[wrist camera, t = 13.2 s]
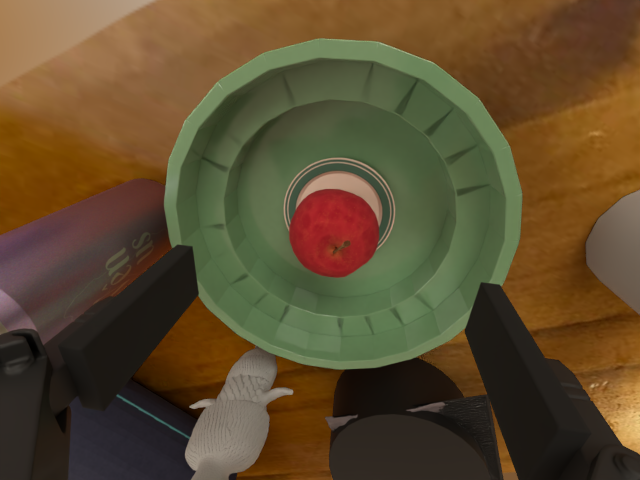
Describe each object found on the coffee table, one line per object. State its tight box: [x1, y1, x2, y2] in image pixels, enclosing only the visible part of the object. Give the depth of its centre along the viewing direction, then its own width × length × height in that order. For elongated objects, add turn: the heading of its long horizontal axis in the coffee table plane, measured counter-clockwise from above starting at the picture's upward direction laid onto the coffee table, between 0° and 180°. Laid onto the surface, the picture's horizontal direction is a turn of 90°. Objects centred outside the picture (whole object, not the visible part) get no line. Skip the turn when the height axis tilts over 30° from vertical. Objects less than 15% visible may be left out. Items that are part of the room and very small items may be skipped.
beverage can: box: [0, 179, 172, 345], centre depth 20 cm, size 6×6×15 cm
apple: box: [284, 158, 395, 278], centre depth 21 cm, size 8×8×6 cm
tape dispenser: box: [325, 358, 503, 480], centre depth 31 cm, size 14×18×8 cm
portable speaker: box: [68, 379, 237, 480], centre depth 34 cm, size 25×10×10 cm, turn 51°
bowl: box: [164, 38, 522, 370], centre depth 22 cm, size 21×21×6 cm
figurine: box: [185, 346, 293, 480], centre depth 25 cm, size 9×4×15 cm, turn 110°
